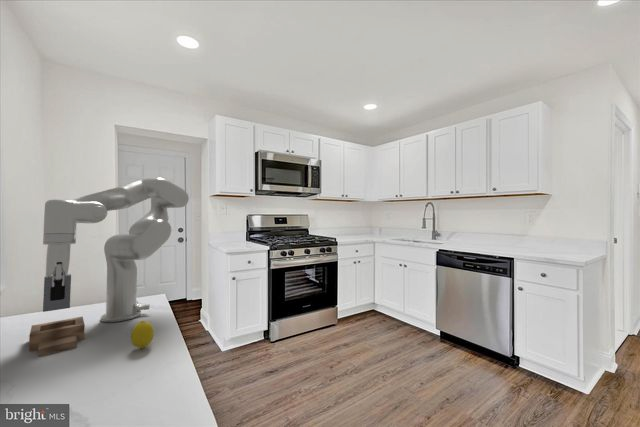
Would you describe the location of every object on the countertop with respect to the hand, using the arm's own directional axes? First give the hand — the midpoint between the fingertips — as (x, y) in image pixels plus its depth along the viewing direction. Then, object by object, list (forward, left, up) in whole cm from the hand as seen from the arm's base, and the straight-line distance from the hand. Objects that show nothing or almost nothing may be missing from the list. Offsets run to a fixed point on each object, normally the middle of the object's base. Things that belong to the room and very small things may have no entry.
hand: (57, 297), depth 87 cm
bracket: (0, 0, -3) cm, 3 cm away
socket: (0, 0, -13) cm, 13 cm away
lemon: (-24, +19, -13) cm, 33 cm away
